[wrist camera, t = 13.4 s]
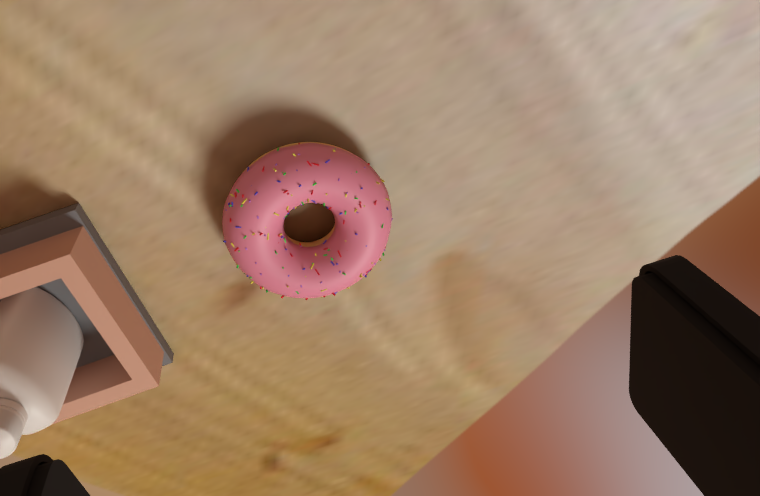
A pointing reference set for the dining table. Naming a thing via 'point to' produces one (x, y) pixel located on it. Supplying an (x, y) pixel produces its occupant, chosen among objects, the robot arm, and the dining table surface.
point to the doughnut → (296, 187)
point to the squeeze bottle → (34, 363)
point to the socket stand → (86, 306)
